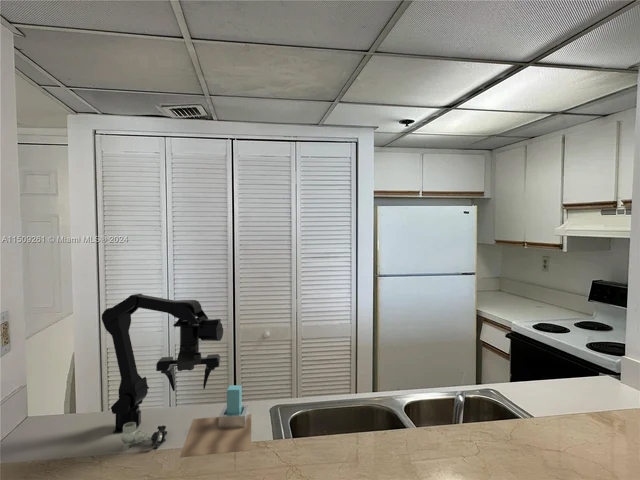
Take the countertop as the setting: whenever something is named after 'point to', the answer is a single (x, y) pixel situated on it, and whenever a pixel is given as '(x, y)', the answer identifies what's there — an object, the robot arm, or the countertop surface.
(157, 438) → the valve
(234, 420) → the collar
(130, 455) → the countertop surface
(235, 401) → the block
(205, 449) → the board
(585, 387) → the countertop surface
